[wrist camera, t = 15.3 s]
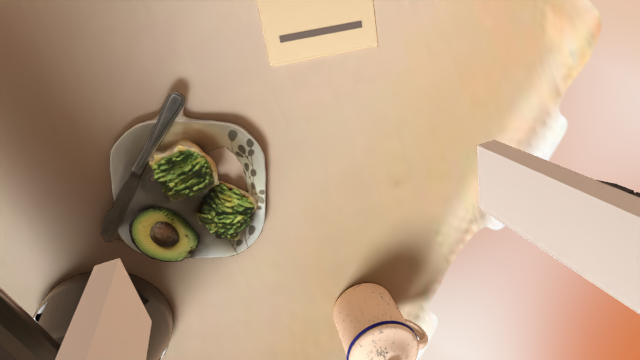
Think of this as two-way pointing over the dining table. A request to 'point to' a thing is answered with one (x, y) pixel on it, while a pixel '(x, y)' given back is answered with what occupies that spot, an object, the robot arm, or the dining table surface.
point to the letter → (315, 28)
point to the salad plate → (184, 188)
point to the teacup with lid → (375, 326)
